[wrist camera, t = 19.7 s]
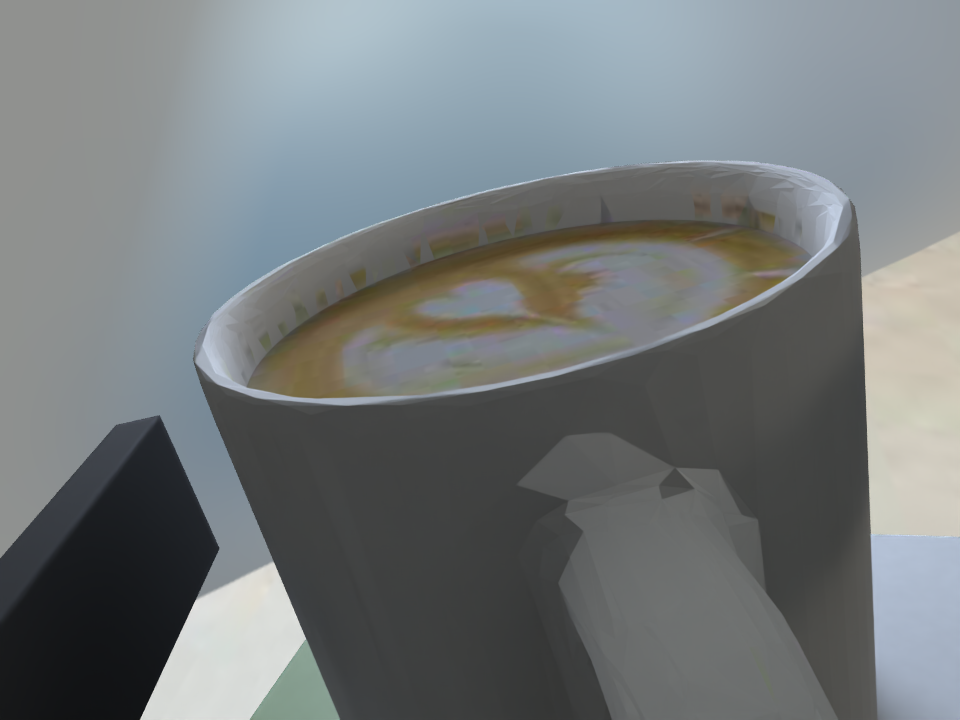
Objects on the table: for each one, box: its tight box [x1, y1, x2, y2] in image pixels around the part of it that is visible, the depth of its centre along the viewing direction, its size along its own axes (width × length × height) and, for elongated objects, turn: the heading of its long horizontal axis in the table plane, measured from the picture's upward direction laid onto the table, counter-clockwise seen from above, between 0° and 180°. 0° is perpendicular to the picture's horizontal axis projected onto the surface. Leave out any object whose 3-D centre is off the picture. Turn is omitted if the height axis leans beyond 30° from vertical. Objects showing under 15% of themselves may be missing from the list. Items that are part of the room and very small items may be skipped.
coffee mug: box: [193, 160, 877, 720], centre depth 13 cm, size 13×10×10 cm
